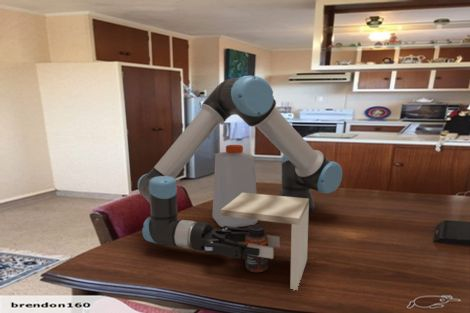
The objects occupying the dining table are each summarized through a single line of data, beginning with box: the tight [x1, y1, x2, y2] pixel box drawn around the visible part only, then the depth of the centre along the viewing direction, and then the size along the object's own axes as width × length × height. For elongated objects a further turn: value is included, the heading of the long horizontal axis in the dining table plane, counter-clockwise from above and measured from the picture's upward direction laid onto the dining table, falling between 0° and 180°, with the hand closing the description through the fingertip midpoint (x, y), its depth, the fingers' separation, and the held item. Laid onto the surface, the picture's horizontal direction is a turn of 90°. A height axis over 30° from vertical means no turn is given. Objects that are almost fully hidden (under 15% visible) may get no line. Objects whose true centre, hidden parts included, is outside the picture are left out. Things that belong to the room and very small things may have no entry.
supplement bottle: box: [244, 223, 269, 273], centre depth 85 cm, size 6×6×11 cm
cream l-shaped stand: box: [221, 193, 310, 291], centre depth 84 cm, size 19×16×18 cm
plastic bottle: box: [212, 144, 259, 228], centre depth 118 cm, size 15×15×28 cm
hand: (276, 247), depth 83 cm, fingers closed on supplement bottle, 6 cm apart
